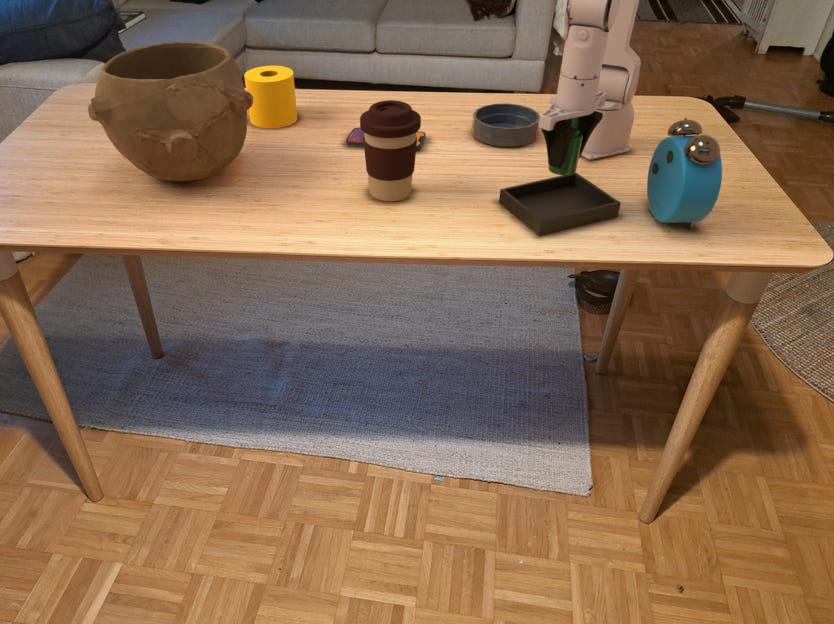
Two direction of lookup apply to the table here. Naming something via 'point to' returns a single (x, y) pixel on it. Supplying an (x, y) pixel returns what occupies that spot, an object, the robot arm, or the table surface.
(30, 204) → the table surface
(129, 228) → the table surface
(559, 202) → the tray
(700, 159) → the alarm clock
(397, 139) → the coffee cup
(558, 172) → the bottle
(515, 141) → the dish
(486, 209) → the table surface
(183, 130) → the bowl
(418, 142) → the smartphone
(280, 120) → the yellow toilet paper roll
